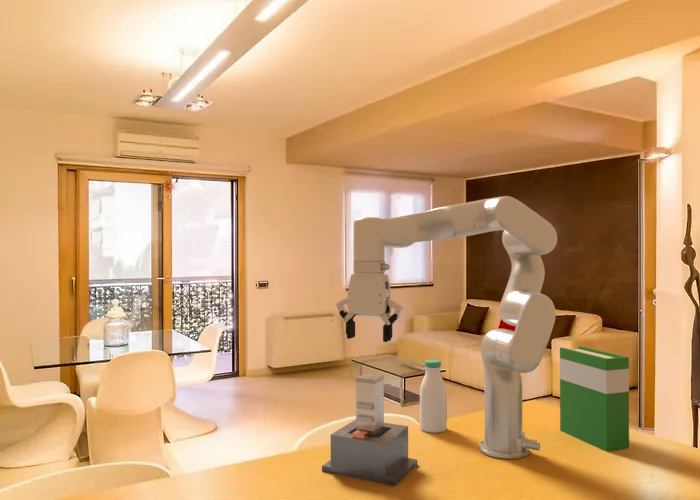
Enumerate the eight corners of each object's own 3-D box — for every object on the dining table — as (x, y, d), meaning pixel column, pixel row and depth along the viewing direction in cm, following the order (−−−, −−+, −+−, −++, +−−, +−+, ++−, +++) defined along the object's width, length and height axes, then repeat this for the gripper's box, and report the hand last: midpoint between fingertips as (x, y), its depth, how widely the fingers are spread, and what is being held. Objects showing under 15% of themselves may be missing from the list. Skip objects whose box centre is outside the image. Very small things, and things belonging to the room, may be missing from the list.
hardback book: (560, 430, 160) (559, 347, 160) (581, 427, 162) (580, 346, 162) (606, 451, 143) (606, 359, 143) (629, 448, 145) (628, 357, 145)
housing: (417, 464, 135) (417, 423, 135) (394, 486, 123) (394, 441, 123) (349, 451, 144) (349, 413, 144) (321, 470, 132) (321, 428, 132)
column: (384, 465, 134) (383, 375, 134) (373, 474, 129) (373, 380, 129) (365, 462, 137) (365, 373, 137) (354, 470, 132) (354, 378, 132)
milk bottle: (446, 434, 157) (445, 364, 157) (418, 432, 159) (418, 363, 159) (447, 425, 165) (446, 358, 165) (421, 424, 166) (420, 357, 166)
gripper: (408, 268, 133) (408, 340, 133) (344, 267, 141) (344, 334, 141) (395, 269, 126) (395, 344, 126) (330, 268, 134) (329, 339, 134)
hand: (368, 339), depth 133 cm, fingers open, 9 cm apart
